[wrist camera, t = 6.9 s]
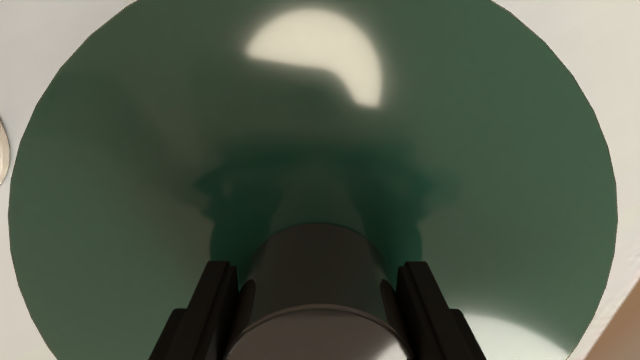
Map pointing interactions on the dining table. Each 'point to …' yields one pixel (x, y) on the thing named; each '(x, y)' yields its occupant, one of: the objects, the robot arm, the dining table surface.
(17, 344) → the dining table surface
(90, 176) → the lid
